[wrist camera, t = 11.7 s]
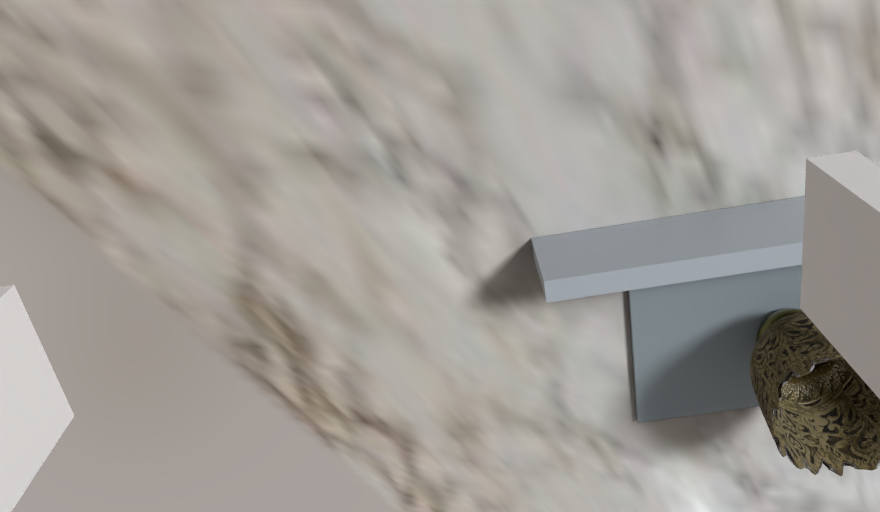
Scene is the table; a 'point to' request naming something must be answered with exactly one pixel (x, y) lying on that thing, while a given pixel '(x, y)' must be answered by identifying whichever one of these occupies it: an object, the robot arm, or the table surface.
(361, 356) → the table surface
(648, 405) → the mat
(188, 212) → the table surface
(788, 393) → the cup
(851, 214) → the robot arm
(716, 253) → the fence
